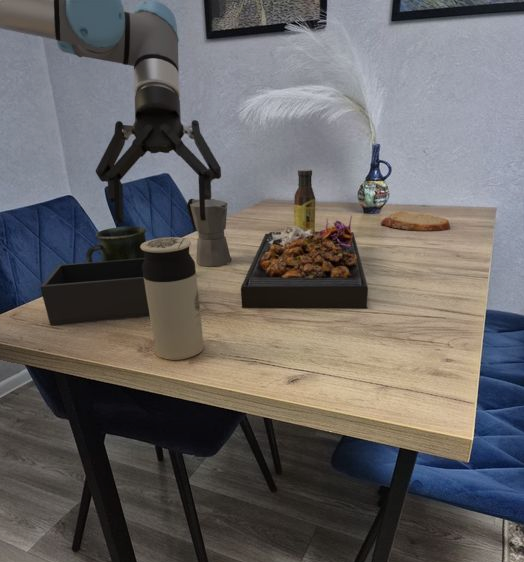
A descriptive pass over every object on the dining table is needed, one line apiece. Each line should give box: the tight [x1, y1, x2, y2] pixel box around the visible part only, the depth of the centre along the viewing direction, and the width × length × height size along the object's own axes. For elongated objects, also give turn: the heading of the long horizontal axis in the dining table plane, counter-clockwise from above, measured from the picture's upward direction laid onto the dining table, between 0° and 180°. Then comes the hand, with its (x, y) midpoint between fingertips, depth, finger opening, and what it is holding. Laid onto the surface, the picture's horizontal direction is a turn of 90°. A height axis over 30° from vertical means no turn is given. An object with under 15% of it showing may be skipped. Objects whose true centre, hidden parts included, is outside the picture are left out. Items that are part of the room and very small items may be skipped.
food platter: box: [240, 215, 369, 309], centre depth 111 cm, size 45×25×10 cm, turn 174°
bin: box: [39, 258, 150, 326], centre depth 96 cm, size 22×15×8 cm
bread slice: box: [380, 211, 451, 232], centre depth 152 cm, size 18×18×4 cm
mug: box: [85, 225, 147, 263], centre depth 109 cm, size 11×15×12 cm
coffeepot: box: [186, 198, 232, 268], centre depth 121 cm, size 15×9×18 cm, turn 45°
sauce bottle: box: [293, 169, 316, 232], centre depth 138 cm, size 6×6×20 cm
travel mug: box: [140, 236, 205, 361], centre depth 74 cm, size 8×8×18 cm
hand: (161, 218), depth 77 cm, fingers open, 13 cm apart
